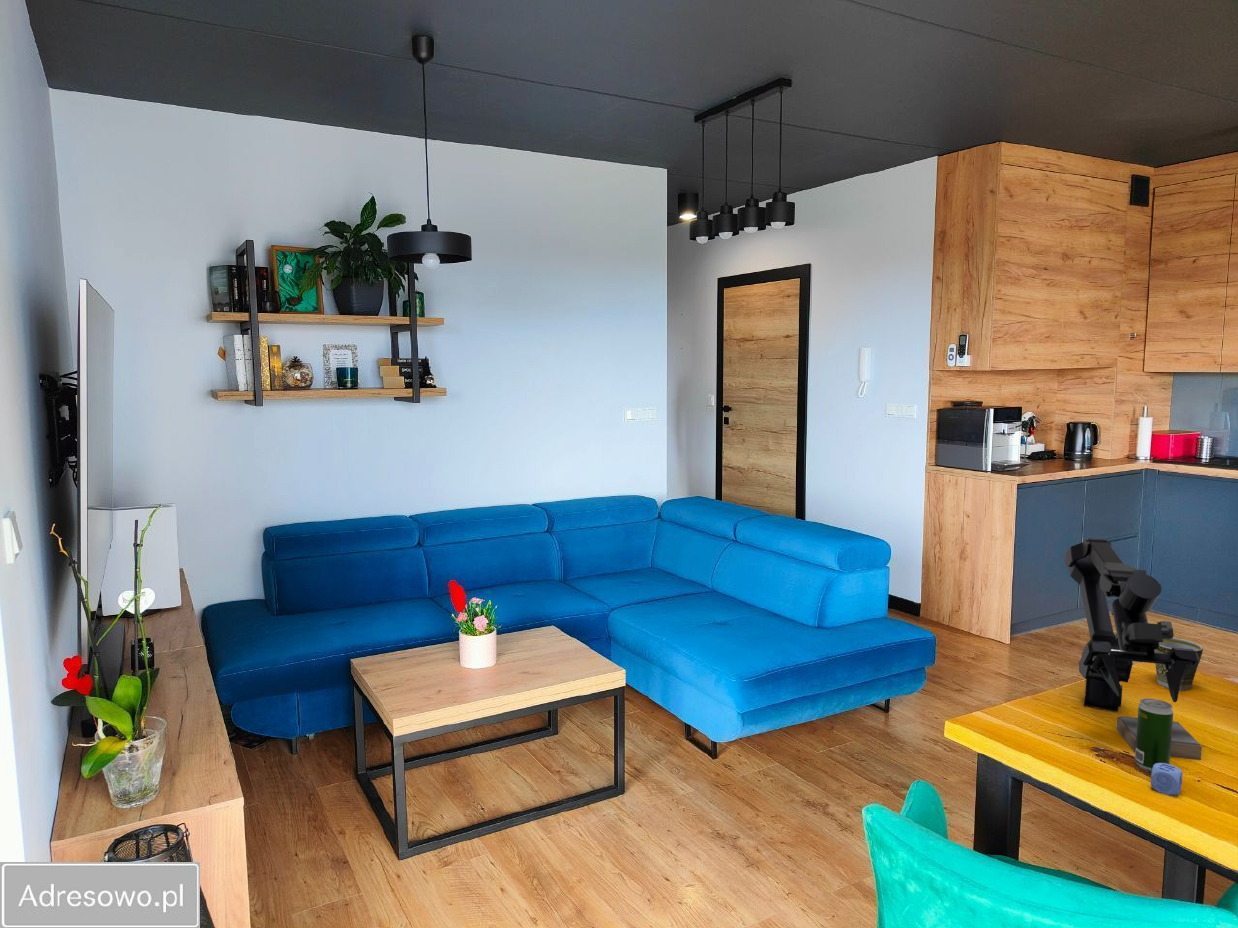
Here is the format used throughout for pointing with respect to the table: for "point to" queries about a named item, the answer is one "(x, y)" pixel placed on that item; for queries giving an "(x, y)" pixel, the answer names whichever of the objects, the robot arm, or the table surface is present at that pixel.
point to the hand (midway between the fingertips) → (1147, 698)
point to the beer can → (1153, 733)
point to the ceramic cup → (1165, 649)
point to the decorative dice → (1166, 779)
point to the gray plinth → (1180, 741)
